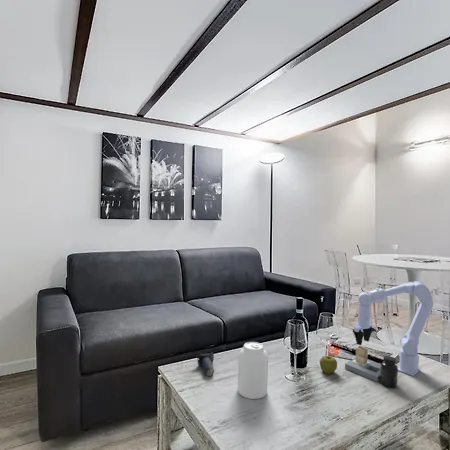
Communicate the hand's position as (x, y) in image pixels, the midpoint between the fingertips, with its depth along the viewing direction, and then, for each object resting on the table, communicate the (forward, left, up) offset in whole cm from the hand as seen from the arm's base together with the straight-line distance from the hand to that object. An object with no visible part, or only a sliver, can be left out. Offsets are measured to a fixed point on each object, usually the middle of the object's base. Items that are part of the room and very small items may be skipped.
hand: (362, 342), depth 165 cm
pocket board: (+6, +6, -10) cm, 13 cm away
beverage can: (+68, -41, -11) cm, 80 cm away
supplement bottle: (+11, +18, -11) cm, 24 cm away
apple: (+23, -5, -11) cm, 26 cm away
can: (+64, -15, -11) cm, 67 cm away
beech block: (+5, +2, -8) cm, 10 cm away
